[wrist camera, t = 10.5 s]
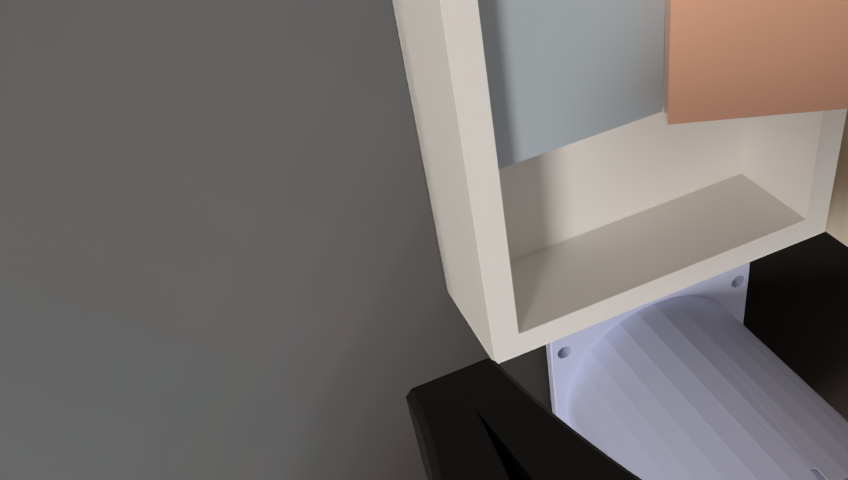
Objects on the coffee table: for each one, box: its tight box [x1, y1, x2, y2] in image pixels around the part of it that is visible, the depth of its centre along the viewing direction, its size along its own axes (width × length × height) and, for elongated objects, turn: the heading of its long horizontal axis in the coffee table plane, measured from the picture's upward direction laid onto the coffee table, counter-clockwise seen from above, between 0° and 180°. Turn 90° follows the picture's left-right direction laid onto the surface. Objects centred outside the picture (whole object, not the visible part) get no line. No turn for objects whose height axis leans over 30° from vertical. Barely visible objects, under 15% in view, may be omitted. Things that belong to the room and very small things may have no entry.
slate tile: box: [478, 0, 665, 169], centre depth 19 cm, size 5×5×2 cm
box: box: [392, 0, 847, 364], centre depth 20 cm, size 16×11×4 cm
